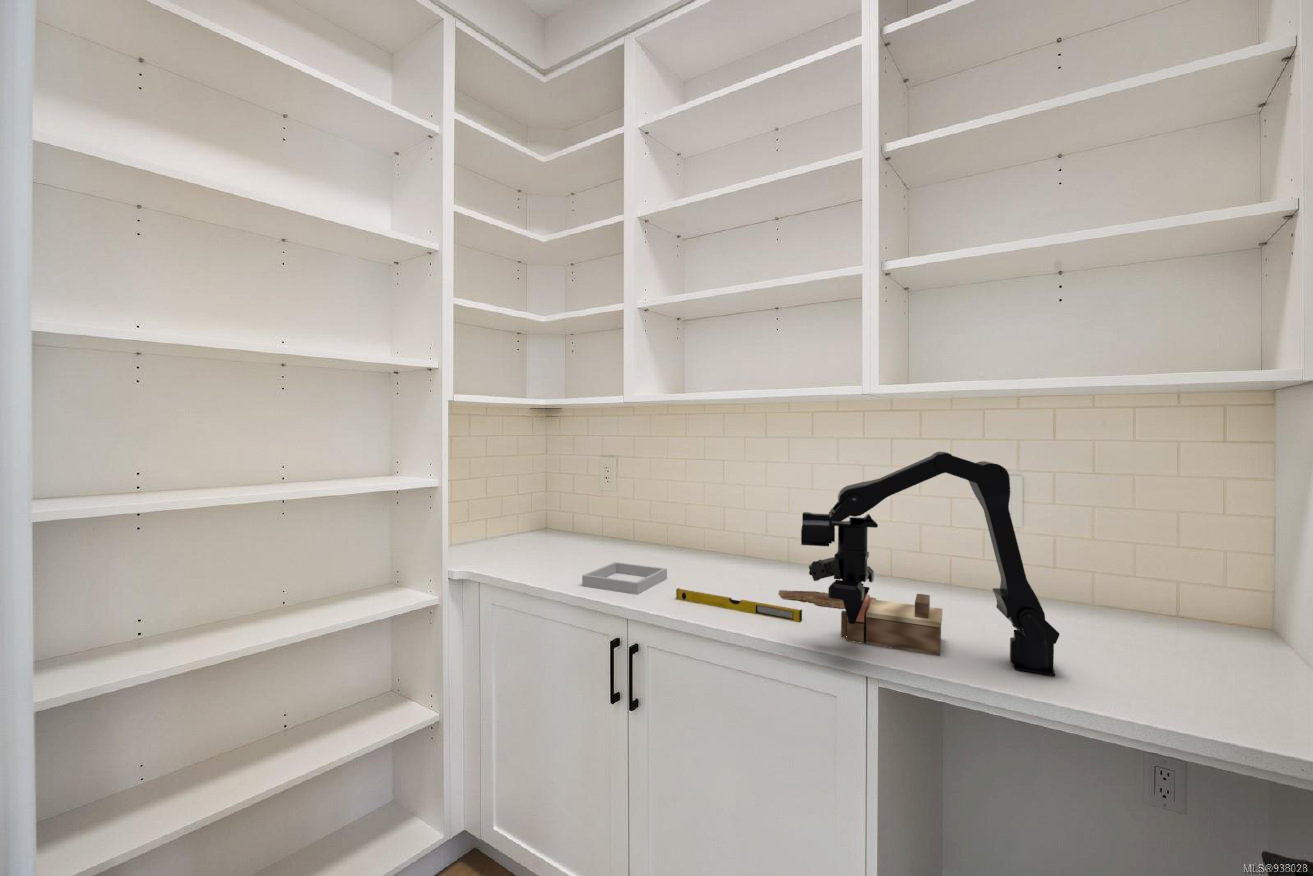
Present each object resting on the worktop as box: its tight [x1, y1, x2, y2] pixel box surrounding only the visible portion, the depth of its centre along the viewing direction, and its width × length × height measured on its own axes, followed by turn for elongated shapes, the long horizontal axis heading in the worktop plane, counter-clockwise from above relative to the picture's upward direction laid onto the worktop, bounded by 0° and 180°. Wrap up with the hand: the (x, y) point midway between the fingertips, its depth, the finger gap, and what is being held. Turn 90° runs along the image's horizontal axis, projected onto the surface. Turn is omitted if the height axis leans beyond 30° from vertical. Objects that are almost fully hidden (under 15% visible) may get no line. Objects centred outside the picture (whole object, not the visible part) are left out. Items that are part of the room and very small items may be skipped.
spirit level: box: [675, 587, 803, 623], centre depth 147 cm, size 33×1×3 cm, turn 58°
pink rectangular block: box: [847, 594, 871, 622], centre depth 130 cm, size 4×9×4 cm, turn 153°
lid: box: [866, 593, 943, 629], centre depth 126 cm, size 14×10×4 cm
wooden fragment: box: [778, 589, 845, 610], centre depth 155 cm, size 26×11×1 cm, turn 54°
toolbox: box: [840, 596, 942, 656], centre depth 132 cm, size 19×21×6 cm
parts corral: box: [581, 561, 668, 595], centre depth 172 cm, size 18×18×3 cm
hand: (851, 623), depth 121 cm, fingers closed
